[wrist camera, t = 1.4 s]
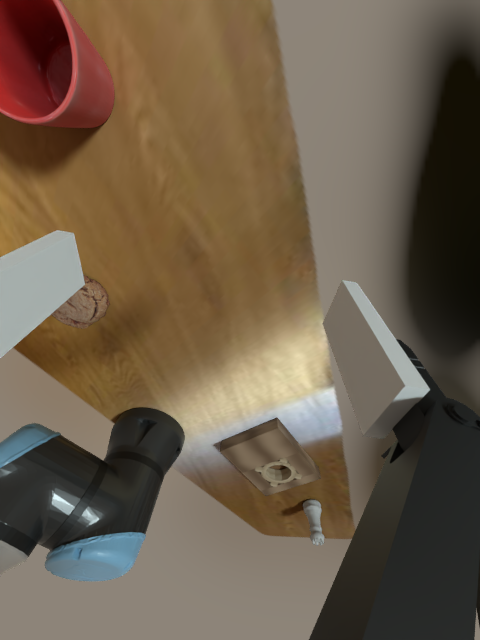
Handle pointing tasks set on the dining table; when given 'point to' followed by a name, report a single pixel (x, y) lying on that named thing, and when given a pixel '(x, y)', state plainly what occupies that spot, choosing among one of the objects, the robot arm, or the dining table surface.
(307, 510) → the rook chess piece
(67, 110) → the flower pot
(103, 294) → the cookie
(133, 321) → the dining table surface
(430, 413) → the robot arm
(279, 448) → the socket board
